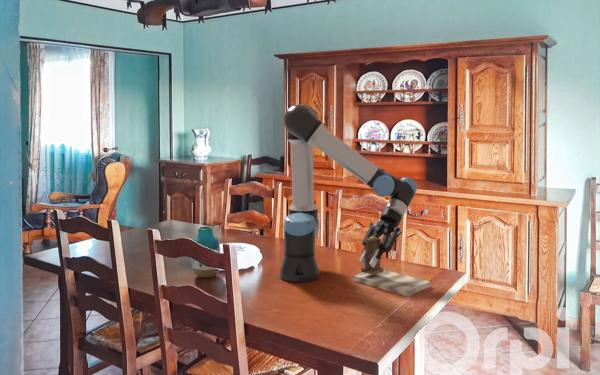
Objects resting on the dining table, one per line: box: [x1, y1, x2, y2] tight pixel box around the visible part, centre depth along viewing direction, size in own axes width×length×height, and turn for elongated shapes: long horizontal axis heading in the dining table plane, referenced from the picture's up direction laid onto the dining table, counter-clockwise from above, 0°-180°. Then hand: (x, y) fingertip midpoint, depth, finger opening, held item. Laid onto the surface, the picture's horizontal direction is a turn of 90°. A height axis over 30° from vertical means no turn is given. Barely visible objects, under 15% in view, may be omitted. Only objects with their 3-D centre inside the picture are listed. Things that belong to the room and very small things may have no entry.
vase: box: [191, 225, 221, 279], centre depth 205 cm, size 11×11×19 cm
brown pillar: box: [360, 237, 385, 275], centre depth 200 cm, size 6×6×13 cm
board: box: [352, 269, 431, 297], centre depth 198 cm, size 24×14×2 cm, turn 46°
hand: (366, 264), depth 198 cm, fingers closed on brown pillar, 4 cm apart
